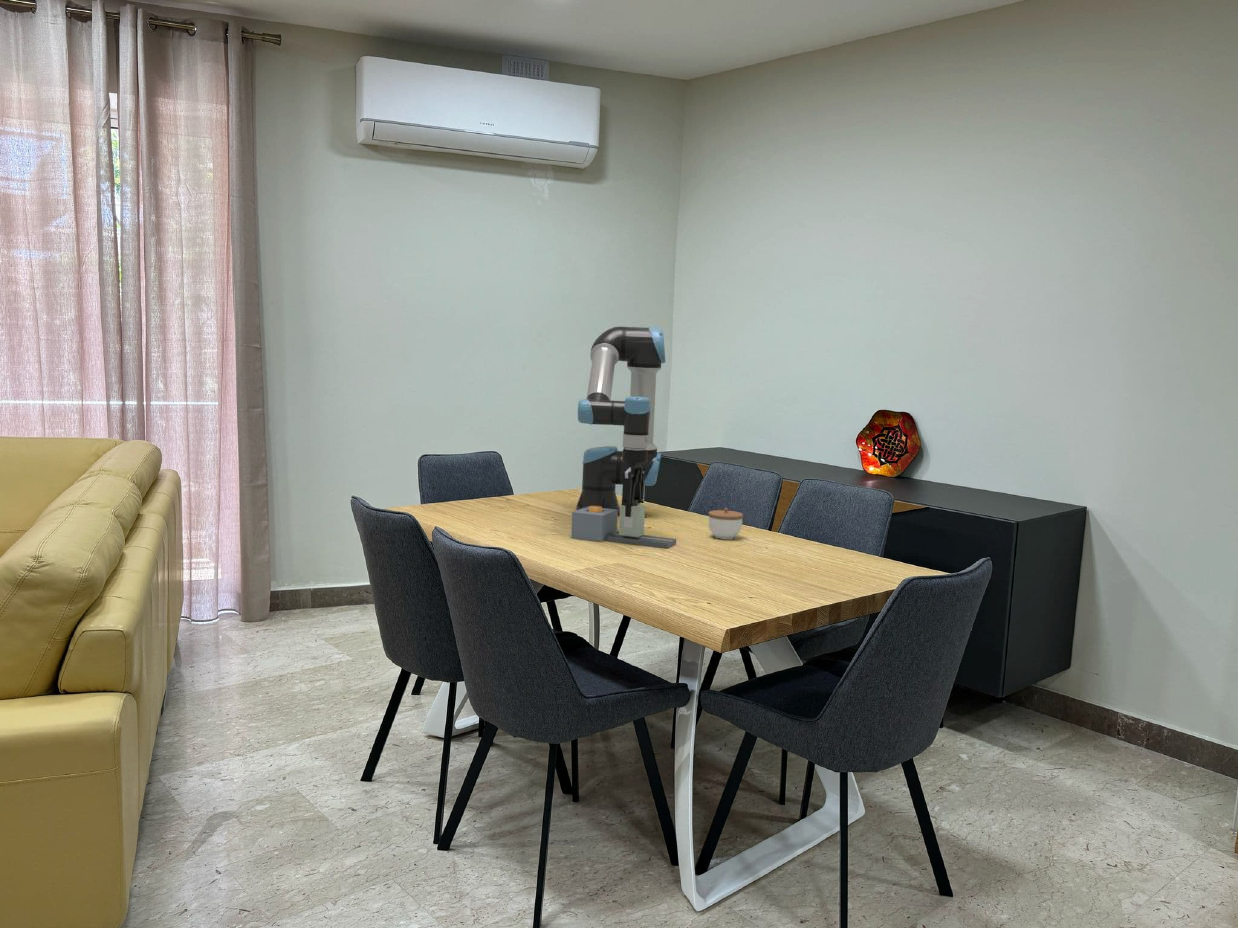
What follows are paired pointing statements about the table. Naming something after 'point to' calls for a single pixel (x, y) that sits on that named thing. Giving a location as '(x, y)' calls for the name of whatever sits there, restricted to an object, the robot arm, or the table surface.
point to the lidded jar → (725, 523)
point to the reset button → (595, 509)
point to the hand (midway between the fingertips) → (631, 525)
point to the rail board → (643, 540)
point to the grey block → (594, 524)
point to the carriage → (637, 521)
